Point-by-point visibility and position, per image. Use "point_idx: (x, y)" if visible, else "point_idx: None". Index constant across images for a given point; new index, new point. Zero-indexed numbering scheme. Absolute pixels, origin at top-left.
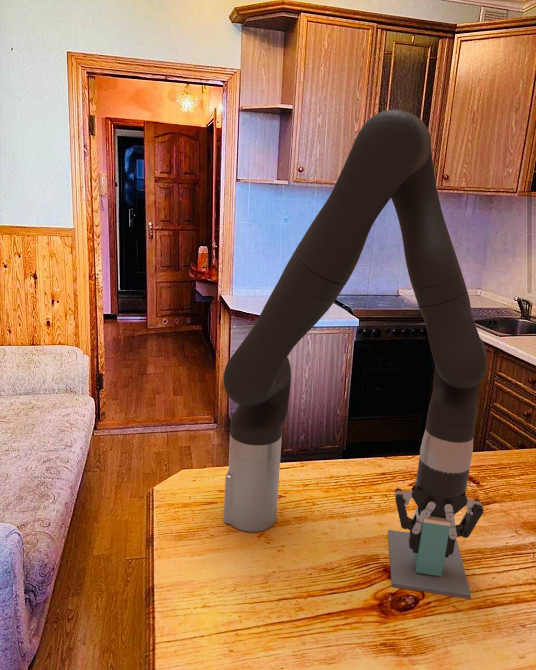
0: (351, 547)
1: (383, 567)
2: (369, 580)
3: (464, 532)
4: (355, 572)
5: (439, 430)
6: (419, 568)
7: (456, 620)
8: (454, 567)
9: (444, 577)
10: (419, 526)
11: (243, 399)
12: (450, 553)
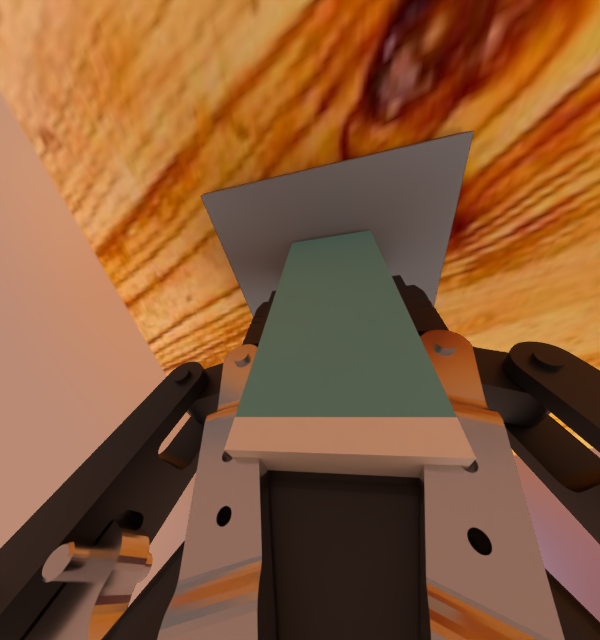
0: (545, 287)
1: (462, 236)
2: (550, 138)
3: (182, 386)
4: (596, 165)
5: None
6: (362, 238)
7: (213, 29)
8: (266, 294)
9: (284, 247)
10: (440, 375)
11: None
12: (266, 304)
